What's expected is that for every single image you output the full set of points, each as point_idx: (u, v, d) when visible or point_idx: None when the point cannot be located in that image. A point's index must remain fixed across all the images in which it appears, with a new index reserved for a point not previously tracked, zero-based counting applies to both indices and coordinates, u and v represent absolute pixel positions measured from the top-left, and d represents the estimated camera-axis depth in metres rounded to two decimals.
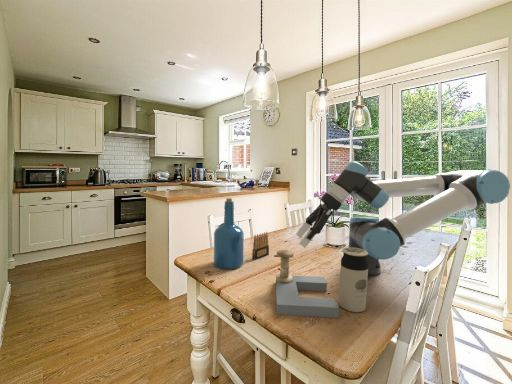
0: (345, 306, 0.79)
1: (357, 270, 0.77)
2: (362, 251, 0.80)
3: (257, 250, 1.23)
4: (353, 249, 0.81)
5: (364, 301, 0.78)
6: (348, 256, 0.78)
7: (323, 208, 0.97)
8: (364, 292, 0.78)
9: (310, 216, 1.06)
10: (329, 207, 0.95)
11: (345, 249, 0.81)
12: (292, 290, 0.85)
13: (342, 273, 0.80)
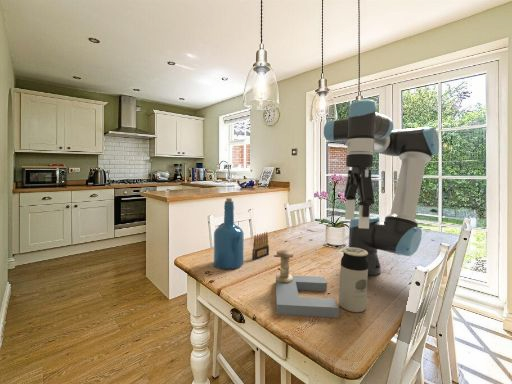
0: (345, 306, 0.79)
1: (357, 270, 0.77)
2: (361, 251, 0.80)
3: (257, 250, 1.23)
4: (353, 249, 0.81)
5: (364, 301, 0.78)
6: (348, 256, 0.78)
7: (356, 173, 0.77)
8: (364, 292, 0.78)
9: (347, 190, 0.85)
10: (362, 167, 0.74)
11: (345, 249, 0.81)
12: (292, 290, 0.85)
13: (342, 273, 0.80)
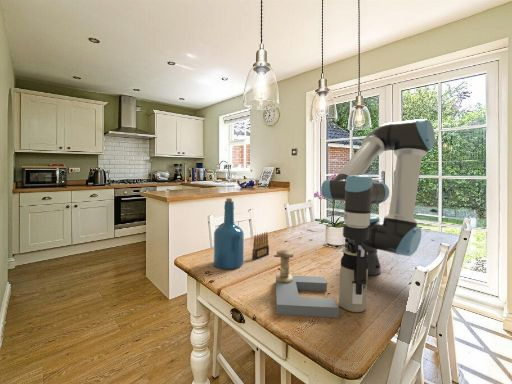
0: (345, 306, 0.79)
1: None
2: None
3: (257, 250, 1.23)
4: None
5: (364, 301, 0.78)
6: (348, 256, 0.78)
7: (353, 245, 0.78)
8: (364, 292, 0.78)
9: None
10: (359, 241, 0.76)
11: (345, 249, 0.81)
12: (292, 290, 0.85)
13: (342, 273, 0.80)
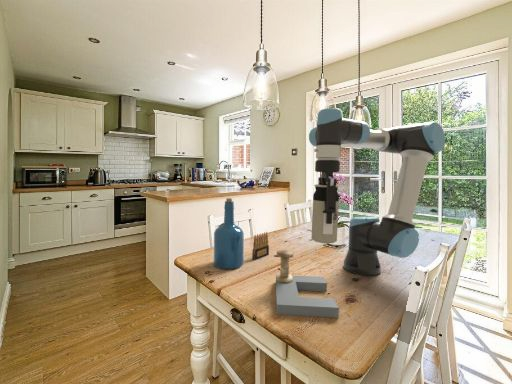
0: (316, 238, 0.81)
1: None
2: None
3: (257, 250, 1.23)
4: None
5: (335, 233, 0.80)
6: (319, 188, 0.80)
7: (324, 178, 0.80)
8: (335, 224, 0.80)
9: None
10: (329, 173, 0.78)
11: (317, 184, 0.83)
12: (292, 290, 0.85)
13: (314, 206, 0.81)
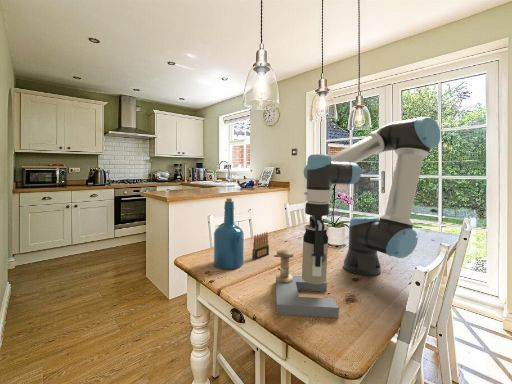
0: (306, 279, 0.83)
1: None
2: None
3: (257, 250, 1.23)
4: None
5: (324, 274, 0.82)
6: (309, 231, 0.82)
7: (314, 220, 0.82)
8: (323, 266, 0.82)
9: None
10: (318, 217, 0.80)
11: (307, 225, 0.85)
12: (292, 290, 0.85)
13: (304, 247, 0.84)
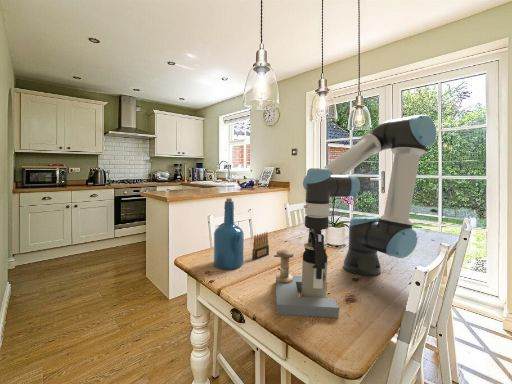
0: None
1: None
2: None
3: (257, 250, 1.23)
4: None
5: (323, 293, 0.83)
6: (308, 250, 0.83)
7: (313, 234, 0.83)
8: (323, 285, 0.83)
9: None
10: (318, 230, 0.81)
11: (306, 244, 0.86)
12: (292, 290, 0.85)
13: (303, 266, 0.84)
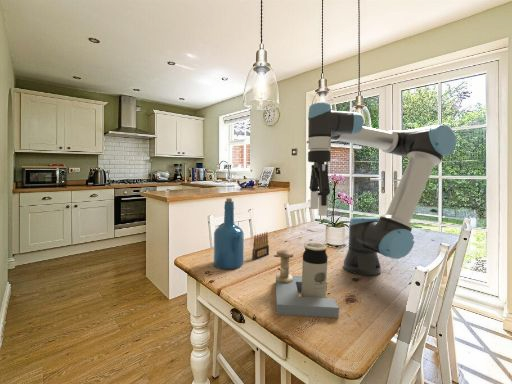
0: None
1: (316, 263, 0.81)
2: (321, 246, 0.84)
3: (257, 250, 1.23)
4: (314, 244, 0.86)
5: (323, 293, 0.83)
6: (308, 250, 0.83)
7: (316, 167, 0.87)
8: (323, 285, 0.83)
9: (311, 183, 0.95)
10: (321, 162, 0.85)
11: (307, 244, 0.86)
12: (292, 290, 0.85)
13: (303, 266, 0.84)
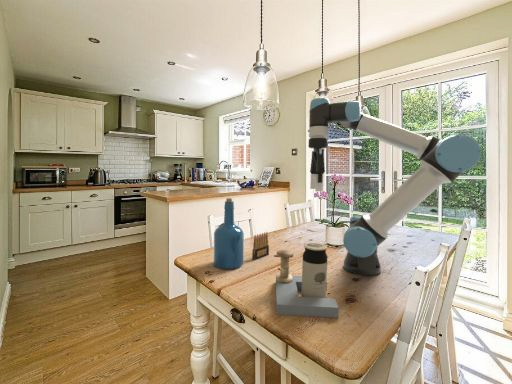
0: None
1: (316, 263, 0.81)
2: (321, 246, 0.84)
3: (257, 250, 1.23)
4: (314, 244, 0.86)
5: (323, 293, 0.83)
6: (308, 250, 0.83)
7: (315, 152, 1.04)
8: (323, 285, 0.83)
9: (311, 166, 1.13)
10: (319, 147, 1.02)
11: (306, 244, 0.86)
12: (292, 290, 0.85)
13: (303, 266, 0.84)
